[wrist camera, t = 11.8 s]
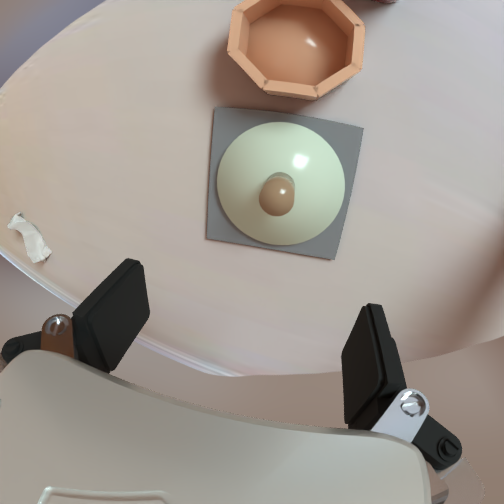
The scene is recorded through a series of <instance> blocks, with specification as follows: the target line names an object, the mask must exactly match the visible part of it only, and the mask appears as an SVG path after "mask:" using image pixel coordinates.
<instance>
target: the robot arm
mask: <svg viewBox="0 0 504 504" xmlns="http://www.w3.org/2000/svg"><path fill="white" fill-rule="evenodd" d="M149 315H150V309H149V303H148V297H147V290H146V283H145V275H144V268H143V265H141V263H140V261H138V260H133V259H129V258H127V259H125V260H124V261H123V262H122V263H121V264H120V265H119V266H118V267H117V268H116V269H115V270H114V271H113V272H112V273H111V274H110V275H109V276H108V277H107V278H106V279H105V280H104V281H103V282H102V283H101V284H100V285H99V286H98V287H97V288H96V289H95V290H94V291H93V292H92V293H91V294H90V295H89V296H88V297H87V298H86V299H85V300H84V301H83V302H82V303H81V304H80V305H79V306H78V307H77V309H76V310H75V311H74V312H73V317H72V318H70V317H69V316H67V315H64V314H56V315H53V316H51V317H49V318H48V319H47V320H46V321H45V322H44V324H43V326H42V331H39V332H35V333H31V334H27V335H23V336H19V337H15V338H12V339H10V340H8V341H7V342H6V343H5V344H4V346H3V348H2V352H1V353H0V504H480V503H481V501H482V500H483V498H484V494H485V488H484V486H483V484H482V482H481V480H480V479H479V477H478V476H477V474H476V473H475V471H474V470H473V468H472V467H471V466H470V464H469V462H468V461H467V459H466V458H463V459H462V458H461V454H462V446H461V443H460V441H459V439H458V438H457V437H456V436H455V435H453V434H452V433H451V432H450V431H448V430H447V429H446V428H444V427H443V426H442V425H441V424H439V423H438V422H437V421H435V420H434V419H433V418H432V417H431V416H429V415H428V412H429V403H428V400H427V398H426V397H425V395H423V394H422V393H421V392H420V391H418V390H416V389H407V387H406V382H405V378H404V374H403V370H402V366H401V362H400V358H399V354H398V350H397V347H396V343H395V340H394V339H393V338H391V334H390V331H389V327H388V324H387V321H386V317H385V314H384V311H383V308H382V305H378V304H371V303H368V304H367V305H366V306H363V307H362V308H361V311H360V313H359V315H358V318H357V320H356V322H355V325H354V327H353V329H352V331H351V333H350V336H349V338H348V340H347V342H346V344H345V346H344V348H343V351H342V356H341V360H342V374H343V393H344V420H345V424H348V429H341V428H327V427H317V426H308V425H299V424H291V423H284V422H277V421H270V420H264V419H258V418H253V417H248V416H243V415H238V414H233V413H228V412H224V411H220V410H216V409H212V408H208V407H204V406H200V405H196V404H193V403H189V402H186V401H182V400H179V399H176V398H173V397H170V396H166V395H163V394H160V393H157V392H155V391H152V390H149V389H146V388H143V387H140V386H137V385H135V384H132V383H130V382H127V381H125V380H122V379H120V378H117V377H115V376H112V375H110V374H109V373H110V371H113V370H115V368H116V367H117V365H118V364H119V362H120V361H121V359H122V357H123V356H124V354H125V353H126V351H127V350H128V348H129V347H130V345H131V344H132V342H133V341H134V339H135V338H136V336H137V335H138V333H139V332H140V330H141V329H142V327H143V326H144V324H145V323H146V321H147V320H148V318H149Z"/></svg>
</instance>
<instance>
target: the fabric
mask: <svg viewBox="0 0 504 504" xmlns="http://www.w3.org/2000/svg"><path fill="white" fill-rule="evenodd" d="M20 215H21V212H19V213H17V214H15V215H14V216H13V217H12V219H11V221H10V223H9V224H8V225H7V227H8V228H9V229H10V230H11V229H16V230H17V231H19V232H20V233H22V235H23V239H24V243H25V246H26V250H27V255H28V256H29V257H30V258H31V260H32V261H33V263H36V262H39V261H43V262H46V260H45V259H46V258H48V257H49V255H50V254H51V253H52V251H51V250H50V249H49V248H48V247H47V245H46V243H45V241H44V239H43V237H42V236H41V234H40V232H39V231H38V230H37V229H36V228H35V227H34V226H33V225H32V224H31V223H30V222H27V221H25V220H24V218H22V217H21V216H20Z"/></svg>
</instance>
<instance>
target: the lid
mask: <svg viewBox="0 0 504 504" xmlns="http://www.w3.org/2000/svg"><path fill="white" fill-rule="evenodd" d="M217 189H218V195H219V199H220V202H221V205H222V207H223V209H224V211H225V213H226V214H227V216H228V217H229V219H230V220H231V221H232V222H233V224H234V225H235V226H236V227H237V228H239V229H240V230H241V231H242V232H243V233H245V234H247V235H248V236H250V237H252V238H254V239H256V240H258V241H261V242H264V243H268V244H273V245H292V244H298V243H302V242H305V241H307V240H310V239H312V238H313V237H315V236H317V235H319V234H320V233H321V232H323V231H324V230H325V229H326V228H327V227H328V226H329V225H330V224H331V223H332V221H333V220H334V219H335V217H336V216H337V214H338V212H339V210H340V208H341V205H342V202H343V198H344V192H345V179H344V172H343V169H342V165H341V163H340V161H339V158H338V156H337V155H336V153H335V151H334V150H333V149H332V147H331V146H330V145H329V144H328V143H327V142H326V141H325V140H324V139H323V138H322V137H321V136H319V135H318V134H317V133H315V132H314V131H312V130H310V129H308V128H306V127H303V126H301V125H298V124H293V123H288V122H271V123H266V124H261V125H258V126H255V127H253V128H251V129H249V130H247V131H245V132H244V133H242V134H241V135H240V136H238V137H237V138H236V139H235V140H234V141H233V142H232V143H231V145H230V146H229V147H228V148H227V150H226V152H225V153H224V155H223V157H222V159H221V162H220V165H219V169H218V175H217Z"/></svg>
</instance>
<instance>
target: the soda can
mask: <svg viewBox="0 0 504 504" xmlns="http://www.w3.org/2000/svg"><path fill="white" fill-rule="evenodd" d="M373 1H376V2H381V3H393V2H396V1H398V0H373Z"/></svg>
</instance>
